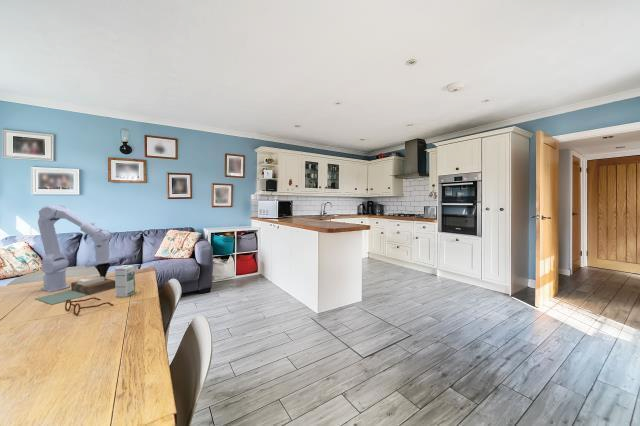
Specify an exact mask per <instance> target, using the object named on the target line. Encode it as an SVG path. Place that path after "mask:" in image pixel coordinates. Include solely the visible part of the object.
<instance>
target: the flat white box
mask: <svg viewBox="0 0 640 426" xmlns="http://www.w3.org/2000/svg"><path fill="white" fill-rule="evenodd" d="M100 281H104V277H103V276H100V275H94V276H89V277H86V278H80V279H77V280H76V282H77V284H80V285H88V284H92V283H96V282H100Z"/></svg>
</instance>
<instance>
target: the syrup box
mask: <svg viewBox="0 0 640 426" xmlns="http://www.w3.org/2000/svg"><path fill="white" fill-rule="evenodd" d="M135 274H136V273H135V265H132V264H126V265H121V266H118V267H115V268H114V280H115V297H119V298H127V297H129V296H132V295H134V294H136V280H135V279H136V278H135V277H136V276H135Z"/></svg>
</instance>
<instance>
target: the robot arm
mask: <svg viewBox="0 0 640 426" xmlns="http://www.w3.org/2000/svg"><path fill="white" fill-rule="evenodd" d="M38 215H39V217H38V221H37V225H38V230H39V232H40V233H39V235H40V237H41V241H42V246H43V249H44V254H45V256H44V257H43V258H42V260H41V262H42V265H41V270H42V271H43V273H44V275H43V287H42V288H41V290H43V291H47V292H51V293H52V292H54V291H59V290H63V289H64V290H65V289H68V288H71V285H67V277H66V270H67V268H68V266H69V265H70V263H69V260H68V258H66V255H65V254H63V253H61V248H60V245H59V241H58V236H57V232H56V228H55V223H57V222H58V221H59V220H61V219H64V220H67V221H69V222H70V223H72V224H74V225H76V226H78V227H79V228H80V231H82V233H85V234H86V235H88V236H89V237H91V239H92V241H93V242H94V245H95V246H94V247H95V261H91V262H87V263H85V264H84V266H85V268H87V269H88V268H91V267H94V268H95V269H96V270H97V271H98V273H99V276H103V277H104V278H106V277H107V273H108V271H109V268H110V267H111V264H113V263H119V257H118V258H117V257H114V258H110V241H109V240H110V239H111V237H112V234H111V232H110V231H109V230H106V229H103V228H101V227H99V226H97V225H96V223H94V222H91V221H88V222H87V221H85V220H84V219H82V218H81V217H79V216H78V215H77V214H76V213H74V212H73V211H72V210H71V209H69V208H68V207H66V206H64V205H45V206H43V207H42V208H40V209H39V210H38Z"/></svg>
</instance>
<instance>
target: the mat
mask: <svg viewBox="0 0 640 426" xmlns="http://www.w3.org/2000/svg"><path fill="white" fill-rule="evenodd" d="M87 296H88V295H86V294H83V293H79V292H76V291H72V290H71V289H69V290H64V291H60V292H57V293H52V294H48V295H45V296H39V297H36V298H34V300H37V301H40V302H42V303H45V304H47V305H51V306H53V305H58V304H60V303H64V302H65V303H66V301H67V300H69V299H70V300H71V301H73V300H75V299H80V298H82V297H87Z"/></svg>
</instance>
